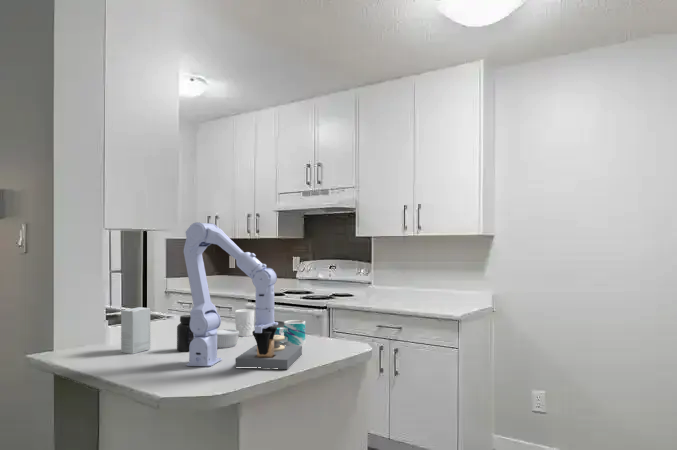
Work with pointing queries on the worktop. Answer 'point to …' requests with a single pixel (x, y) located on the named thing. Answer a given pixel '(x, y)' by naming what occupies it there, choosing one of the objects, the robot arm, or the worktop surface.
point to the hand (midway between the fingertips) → (265, 352)
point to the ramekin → (227, 338)
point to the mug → (293, 333)
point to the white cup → (244, 322)
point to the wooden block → (270, 350)
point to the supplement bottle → (184, 334)
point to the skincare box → (135, 330)
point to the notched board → (281, 359)
